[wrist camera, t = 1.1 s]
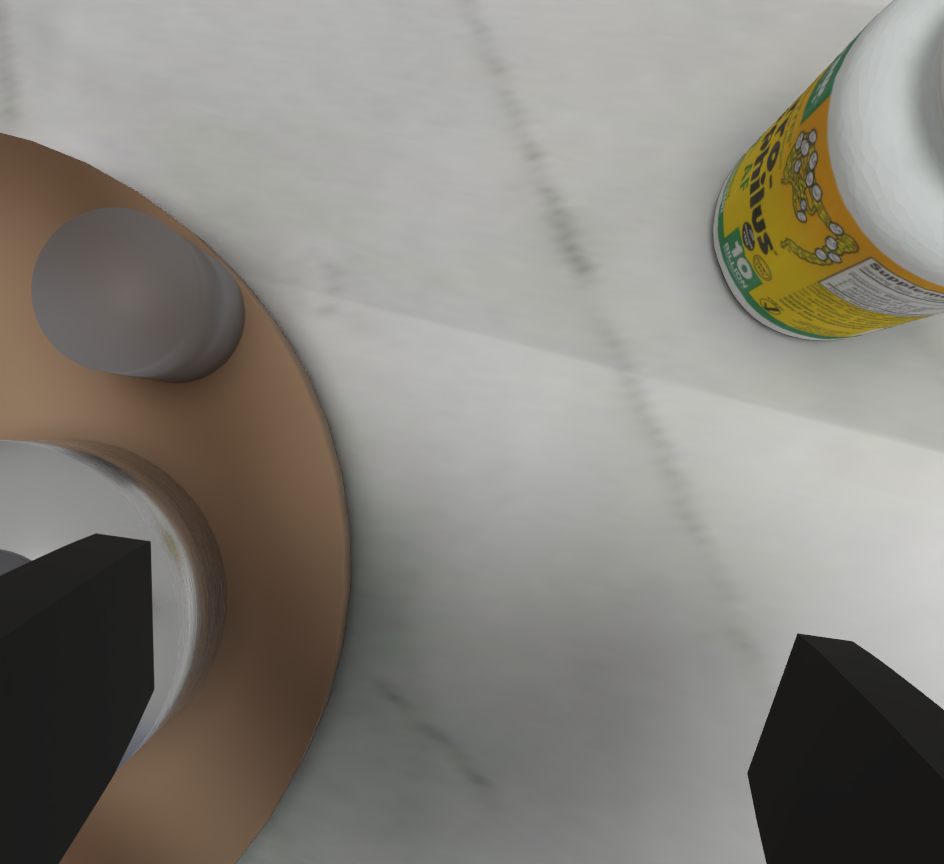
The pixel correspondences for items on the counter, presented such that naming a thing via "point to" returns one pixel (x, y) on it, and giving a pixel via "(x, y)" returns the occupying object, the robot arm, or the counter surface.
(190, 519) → the cover
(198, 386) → the disc
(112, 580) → the robot arm
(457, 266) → the counter surface
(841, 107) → the supplement bottle
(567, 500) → the counter surface
